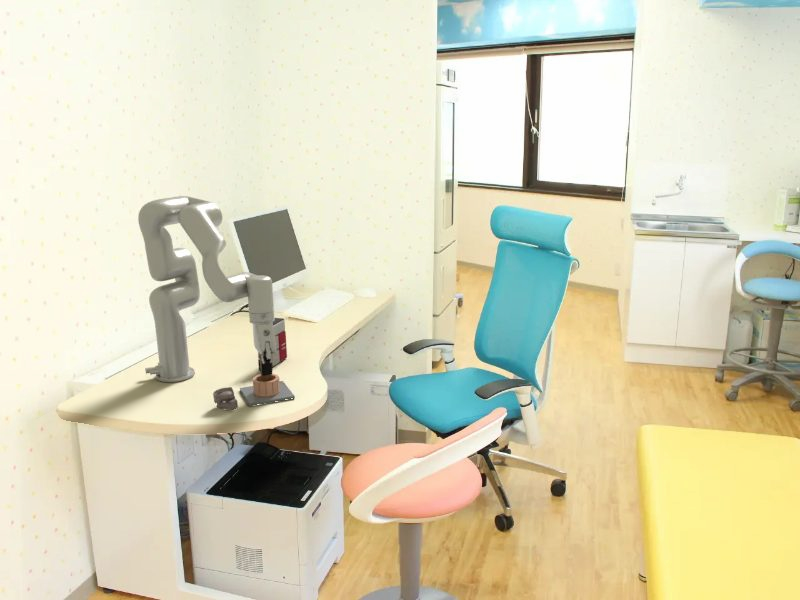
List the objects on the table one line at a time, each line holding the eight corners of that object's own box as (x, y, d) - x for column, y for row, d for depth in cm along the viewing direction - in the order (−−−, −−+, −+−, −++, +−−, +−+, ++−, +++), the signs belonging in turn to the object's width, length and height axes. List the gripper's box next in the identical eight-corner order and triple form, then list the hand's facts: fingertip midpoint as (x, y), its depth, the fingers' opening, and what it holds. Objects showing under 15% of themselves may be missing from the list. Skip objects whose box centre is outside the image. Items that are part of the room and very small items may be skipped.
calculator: (273, 368, 246) (270, 327, 242) (262, 367, 247) (259, 325, 243) (288, 358, 256) (286, 318, 252) (278, 357, 257) (275, 317, 253)
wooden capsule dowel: (262, 387, 220) (260, 350, 217) (260, 384, 223) (257, 347, 220) (273, 385, 221) (270, 349, 218) (270, 382, 224) (268, 346, 221)
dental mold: (214, 402, 218) (213, 387, 216) (237, 400, 219) (236, 385, 218) (214, 413, 210) (213, 397, 209) (238, 410, 212) (236, 394, 210)
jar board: (249, 406, 214) (248, 389, 212) (240, 390, 226) (238, 374, 225) (294, 398, 219) (293, 381, 218) (282, 383, 232) (281, 367, 230)
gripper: (280, 321, 210) (284, 379, 215) (267, 308, 225) (271, 363, 230) (255, 324, 207) (260, 383, 212) (243, 311, 222) (247, 366, 227)
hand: (265, 372), depth 221 cm, fingers closed on wooden capsule dowel, 3 cm apart
